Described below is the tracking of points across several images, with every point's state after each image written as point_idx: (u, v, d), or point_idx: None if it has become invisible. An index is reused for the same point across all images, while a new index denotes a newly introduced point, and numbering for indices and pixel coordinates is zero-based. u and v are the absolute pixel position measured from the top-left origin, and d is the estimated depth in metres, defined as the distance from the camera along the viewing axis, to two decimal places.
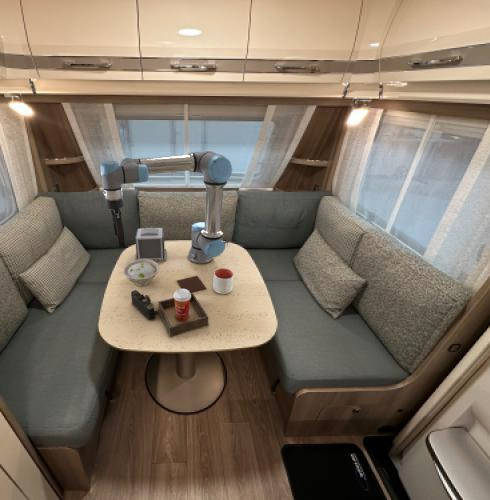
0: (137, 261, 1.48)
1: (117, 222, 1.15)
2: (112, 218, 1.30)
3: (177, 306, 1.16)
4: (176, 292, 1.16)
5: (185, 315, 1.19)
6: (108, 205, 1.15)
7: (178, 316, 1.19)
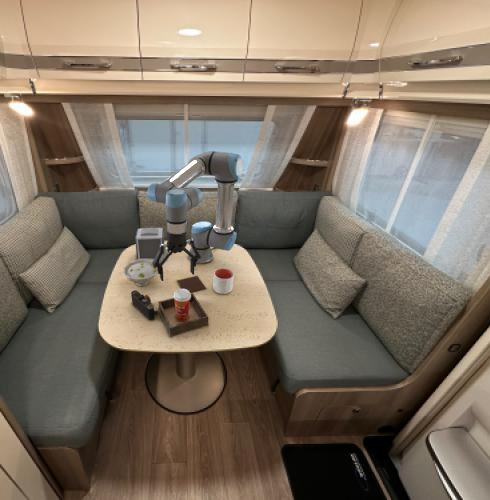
0: (137, 261, 1.48)
1: (157, 252, 1.04)
2: (195, 254, 1.12)
3: (177, 306, 1.16)
4: (176, 292, 1.16)
5: (185, 315, 1.19)
6: None
7: (178, 316, 1.19)
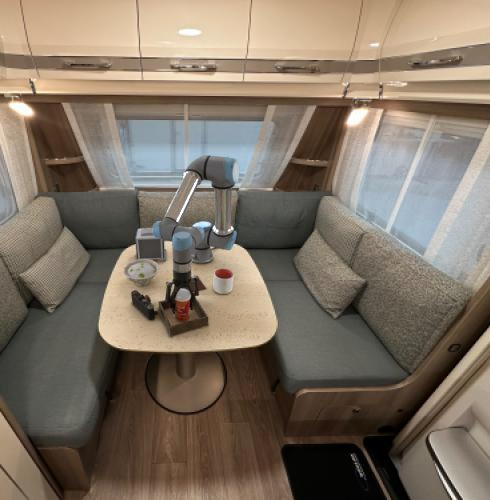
0: (137, 261, 1.48)
1: (166, 289, 1.12)
2: (194, 290, 1.19)
3: (177, 306, 1.16)
4: None
5: (185, 315, 1.19)
6: None
7: (178, 316, 1.19)
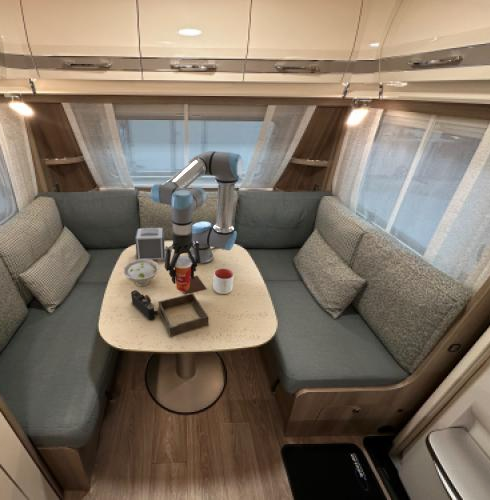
0: (137, 261, 1.48)
1: (166, 255, 1.05)
2: (195, 258, 1.12)
3: (177, 274, 1.09)
4: None
5: (186, 284, 1.11)
6: None
7: (179, 286, 1.12)
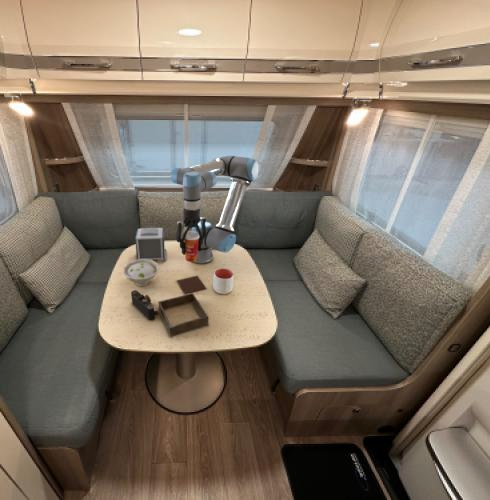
0: (137, 261, 1.48)
1: (177, 229, 1.22)
2: (202, 233, 1.29)
3: (187, 246, 1.26)
4: None
5: (194, 255, 1.29)
6: None
7: (188, 256, 1.29)
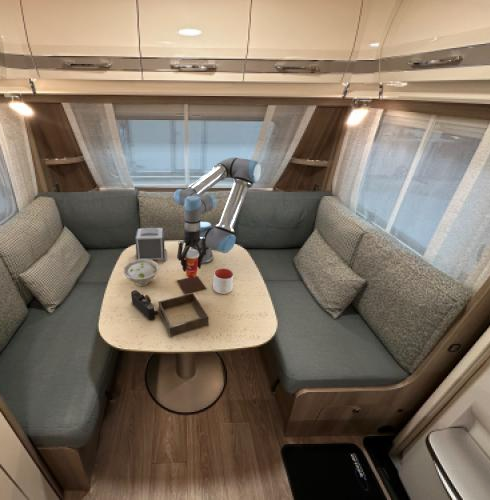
0: (137, 261, 1.48)
1: (178, 248, 1.30)
2: (202, 251, 1.37)
3: (187, 263, 1.34)
4: None
5: (194, 272, 1.37)
6: None
7: (188, 273, 1.37)
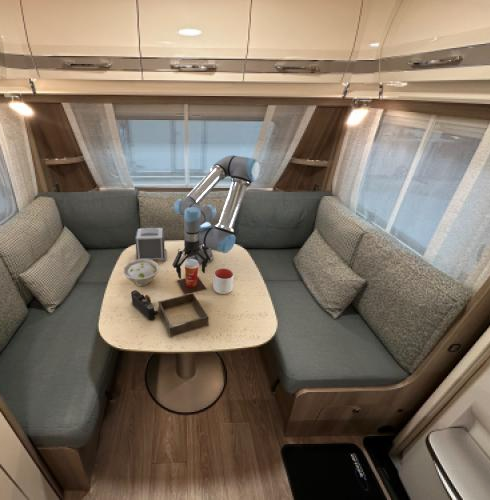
0: (137, 261, 1.48)
1: (177, 255, 1.32)
2: (206, 257, 1.40)
3: (187, 273, 1.37)
4: (186, 261, 1.37)
5: (194, 281, 1.40)
6: None
7: (188, 282, 1.40)
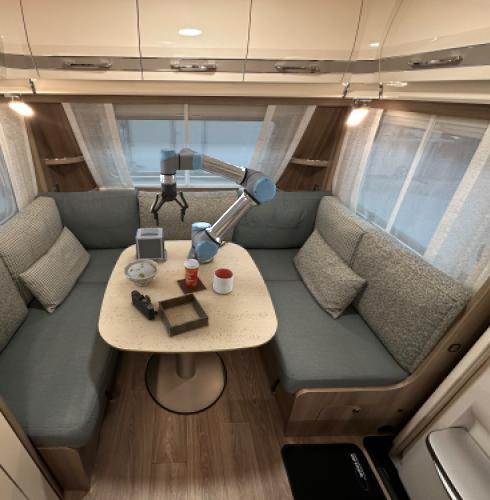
0: (137, 261, 1.48)
1: (154, 200, 1.31)
2: None
3: (187, 273, 1.37)
4: (186, 261, 1.37)
5: (194, 281, 1.40)
6: None
7: (188, 282, 1.40)
